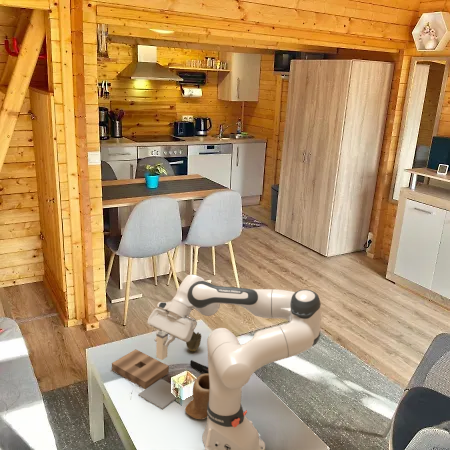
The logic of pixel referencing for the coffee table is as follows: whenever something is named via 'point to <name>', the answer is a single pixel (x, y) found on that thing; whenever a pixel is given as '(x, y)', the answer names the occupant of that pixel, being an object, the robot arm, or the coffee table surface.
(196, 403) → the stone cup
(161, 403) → the mat
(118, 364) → the wooden block with hole
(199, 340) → the cup
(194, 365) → the electric trimmer
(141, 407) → the coffee table surface
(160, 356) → the beige square peg
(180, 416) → the coffee table surface
